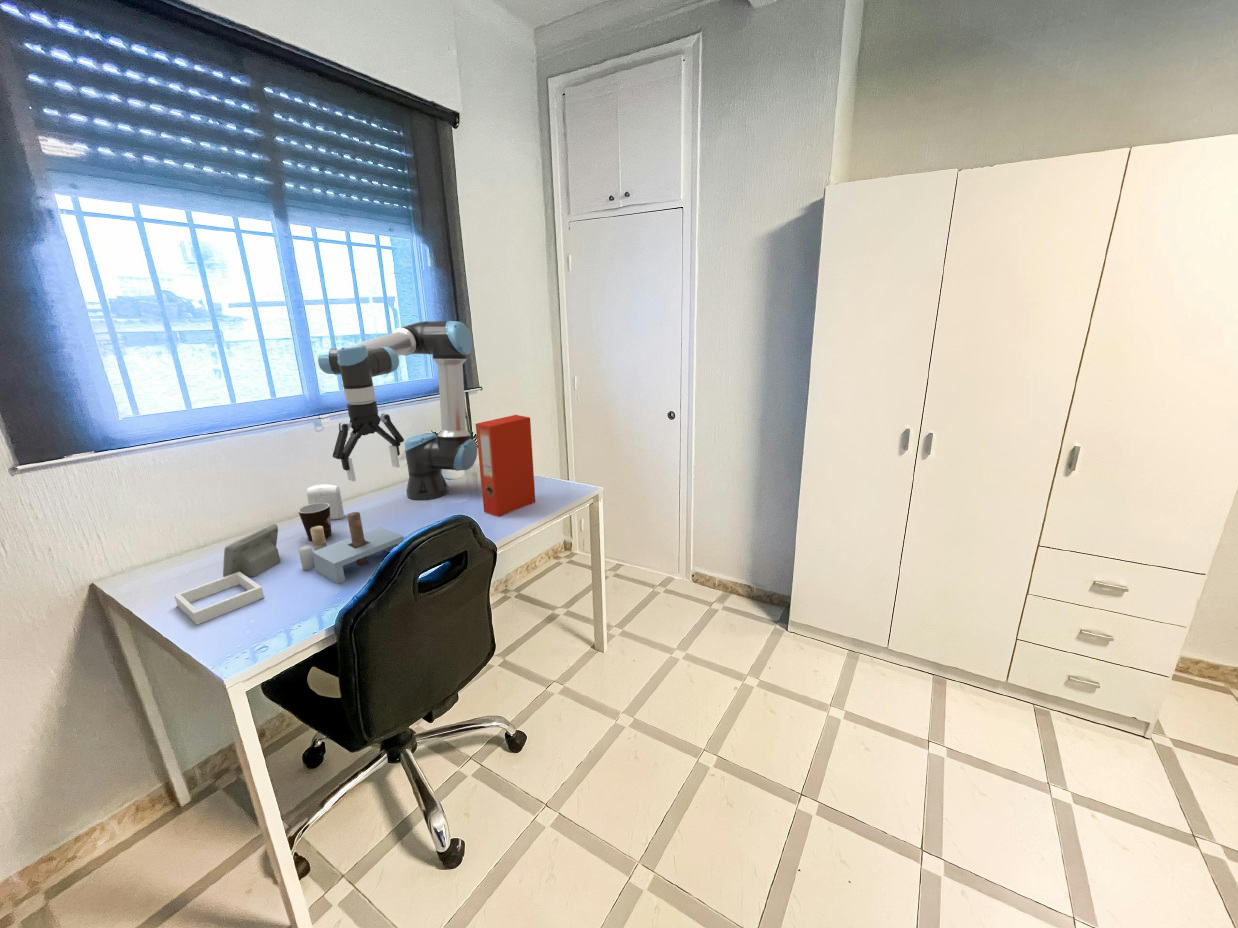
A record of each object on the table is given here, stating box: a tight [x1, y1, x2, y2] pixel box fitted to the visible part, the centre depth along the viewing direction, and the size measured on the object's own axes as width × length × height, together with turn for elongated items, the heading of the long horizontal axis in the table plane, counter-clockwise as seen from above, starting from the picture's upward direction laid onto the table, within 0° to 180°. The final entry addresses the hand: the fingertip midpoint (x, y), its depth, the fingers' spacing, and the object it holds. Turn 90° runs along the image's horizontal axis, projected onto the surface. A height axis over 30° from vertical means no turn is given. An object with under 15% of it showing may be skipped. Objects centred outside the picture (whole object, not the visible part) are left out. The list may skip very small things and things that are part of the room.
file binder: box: [475, 414, 536, 517], centre depth 181 cm, size 8×17×32 cm, turn 141°
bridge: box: [312, 526, 405, 585], centre depth 146 cm, size 20×12×6 cm, turn 144°
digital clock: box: [222, 523, 281, 578], centre depth 144 cm, size 16×9×11 cm, turn 156°
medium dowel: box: [310, 526, 328, 551], centre depth 150 cm, size 3×3×9 cm
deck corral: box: [173, 572, 265, 625], centre depth 129 cm, size 14×14×3 cm
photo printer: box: [306, 483, 345, 520], centre depth 177 cm, size 10×4×12 cm, turn 98°
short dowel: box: [297, 545, 315, 571], centre depth 144 cm, size 3×3×6 cm
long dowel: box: [346, 511, 369, 567], centre depth 145 cm, size 3×3×15 cm
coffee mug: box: [297, 503, 332, 542], centre depth 164 cm, size 12×9×10 cm
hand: (374, 473), depth 151 cm, fingers open, 13 cm apart
